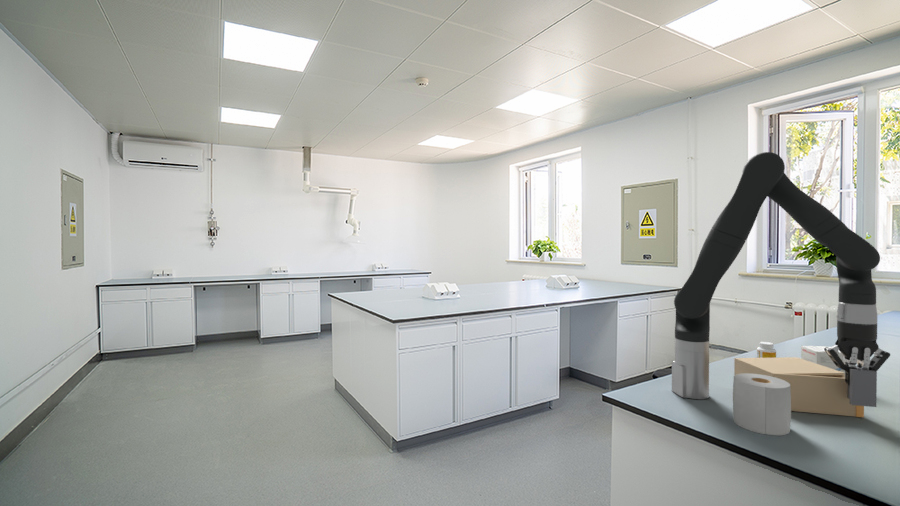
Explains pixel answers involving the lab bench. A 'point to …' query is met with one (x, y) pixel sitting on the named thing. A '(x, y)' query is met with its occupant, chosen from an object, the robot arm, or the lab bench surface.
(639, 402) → the lab bench surface
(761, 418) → the toilet paper roll
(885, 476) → the lab bench surface
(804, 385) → the carton flap
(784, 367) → the carton
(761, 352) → the supplement bottle
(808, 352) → the ink box
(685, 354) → the robot arm
